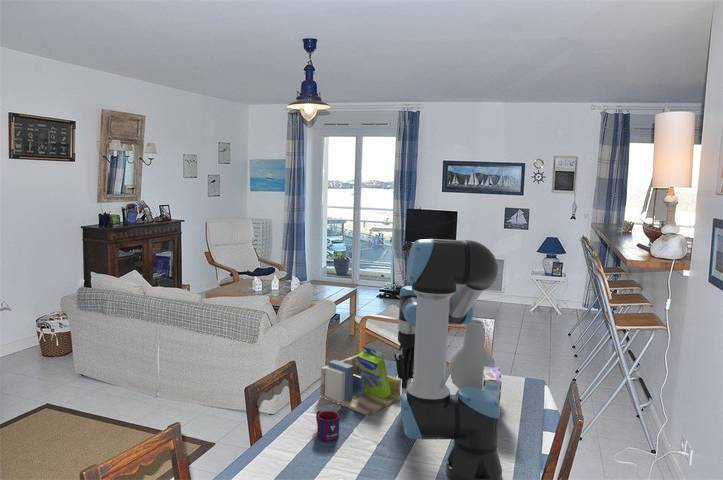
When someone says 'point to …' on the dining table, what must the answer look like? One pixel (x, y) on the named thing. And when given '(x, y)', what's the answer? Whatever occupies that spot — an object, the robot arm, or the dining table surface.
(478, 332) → the vase
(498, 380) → the candy box
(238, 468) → the dining table surface
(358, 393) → the bookend
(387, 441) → the dining table surface
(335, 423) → the mug
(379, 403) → the shelf
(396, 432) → the dining table surface
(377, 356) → the box
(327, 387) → the shelved books
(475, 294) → the robot arm
